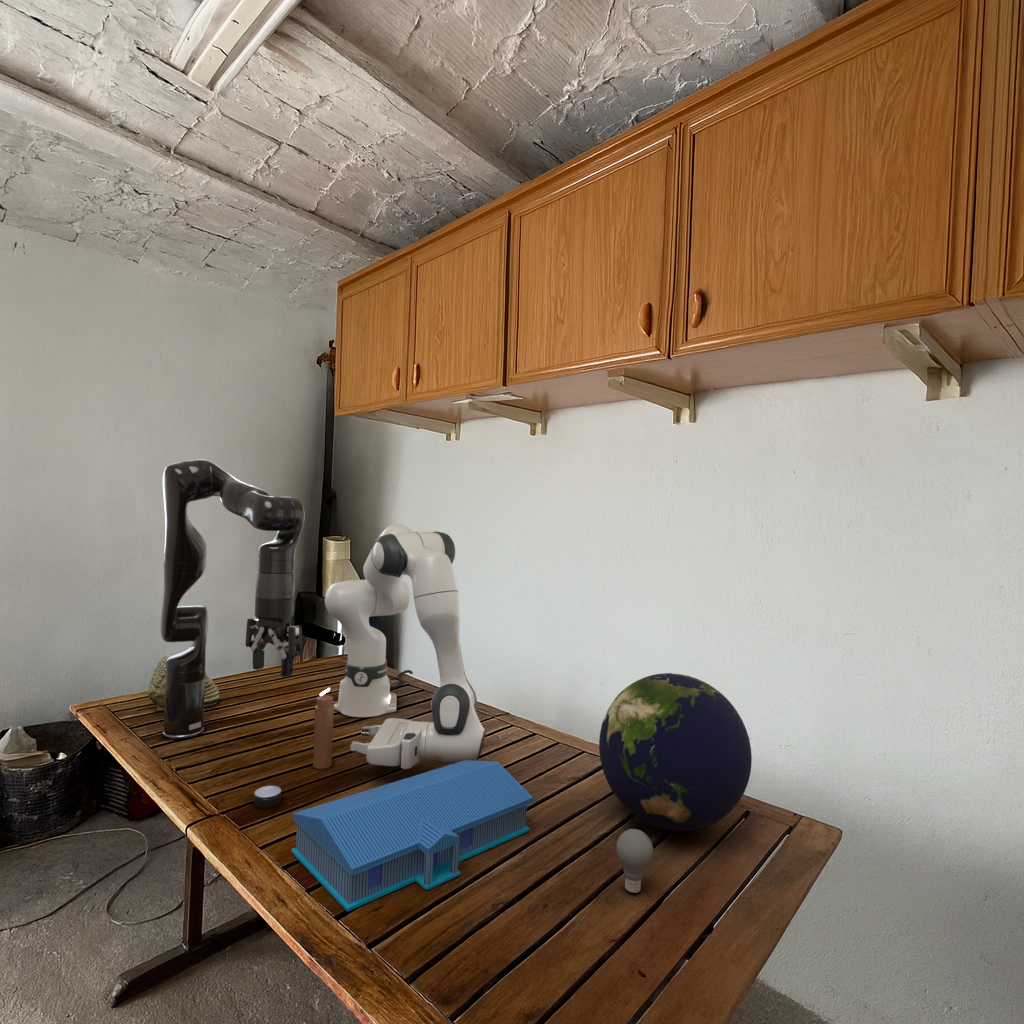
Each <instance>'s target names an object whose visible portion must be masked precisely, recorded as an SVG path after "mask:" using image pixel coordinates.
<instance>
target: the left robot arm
mask: <svg viewBox="0 0 1024 1024" xmlns="http://www.w3.org/2000/svg"><path fill="white" fill-rule="evenodd" d="M162 493H163V505H164V521H165V524H164V525H165V526H164V529H165V530H164V548H163V595H162V607H161V616H160V635H161V639H162V641H164V642H165V643H189V642H192V644H190V646H188V647H186V648H184V649H183V650H181V651H179V652H175V653H174V654H170V655H171V656H169V657H168V658H167V660H166V674H165V705H164V710H163V731H162V737H164V738H166V739H169V740H185V739H190V738H191V739H192V738H194V737H197V736H199V735H202V734H203V732H204V730H205V729H204V722H205V721H204V718H205V706H204V693H205V672H206V656H207V655H206V654H207V653H206V652H207V637H208V636H207V635H208V627H209V611H208V609H207V607H206V606H205V605H199V604H198V605H179V604H180V602H181V600H182V598H183V597H184V596H185V595H186V593H187V592H188V591H189V590H190V589H191V588H192V587H193V586H195V584H196V583H197V582H198V581H199V579H200V578H201V577H202V576H203V575H204V573H205V570H206V567H207V553H208V552H207V551H208V547H207V543H206V541H205V539H204V537H203V535H201V533H200V532H199V531H198V530H197V529H196V528H195V526H194V525H193V524H192V522H191V521H190V519H189V516H188V504H189V503H191V502H196V501H201V500H206V499H210V498H211V497H219V500H220V503H221V505H222V506H223V508H225V510H227V511H228V512H229V513H231V514H233V515H235V516H237V517H240V518H243V519H245V520H246V522H247V523H248V524H249V525H250V526H251V527H253V528H254V529H256V530H259V531H263V532H277V533H276V535H275V537H274V539H273V540H271V541H268V542H265V543H262V544H260V546H259V548H258V552H257V553H258V555H257V575H256V579H255V580H256V581H255V596H254V598H255V599H254V616H255V617H252V618H247V620H246V629H245V630H246V632H245V647H246V648H250V650H251V652H252V664H251V665H252V669H253V670H256V671H258V670H263V669H264V667H265V650H264V649H265V648H266V646H267V645H268V644H271V645H273V646H275V648H276V650H277V651H279V653H280V655H281V657H282V658H281V661H280V662H281V663H280V665H281V667H280V677H282V678H288V677H291V676H292V674H293V672H294V660H295V659H294V658H295V657H298V656H301V655H302V654H303V627H302V625H292V624H291V618H292V617H294V615H295V596H296V595H295V593H296V592H295V590H296V580H295V579H296V578H295V559H296V558H295V556H296V555H295V554H296V550H297V547H298V543H299V541H300V538H301V534H302V532H303V528H304V524H305V519H306V512H305V508H304V505H303V503H302V502H301V501H300V500H299V499H298V498H296V497H293V496H271V495H269V493H268V492H267V491H265V490H264V489H262V488H259V487H256V486H254V485H252V484H248V483H246V482H243V481H241V480H240V479H237V478H236V477H234V476H233V475H231V474H230V473H229V472H227V471H226V470H224V469H223V468H222V467H220V466H219V465H217V464H215V463H214V462H212V461H211V460H208V459H202V458H201V459H193V460H186V461H180V462H175V463H171V464H169V465H167V466H166V467H165V468H164V471H163V475H162ZM252 638H253V639H252Z"/></svg>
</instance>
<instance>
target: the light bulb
mask: <svg viewBox="0 0 1024 1024" xmlns="http://www.w3.org/2000/svg"><path fill="white" fill-rule="evenodd" d="M615 849H616V854H617V857H618V859H619V861H620V863H621V865H622V867H623V873H624V874H623V875H624V876H625V878H624V888H625V890H627V891H628V892H630V893H634V894H635V893H639V892H640V891H641V889H642V887H641V886H642V879H643V877H644V875H645V871H646V868H647V867H648V866H649V864H650V863H651V861H652V859H653V855H654V847H653V843H652V841H651V838H649V836H648V835H647V834H646V833H645V832H643V831H642V830H641V829H636V828H629V829H627V830H625V831H623V832H622V833H621V834H620V835H619V837H618V839H617V841H616V847H615Z"/></svg>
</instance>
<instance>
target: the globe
mask: <svg viewBox="0 0 1024 1024" xmlns="http://www.w3.org/2000/svg"><path fill="white" fill-rule="evenodd" d="M599 731H600V732H599V738H598V739H599V740H598V751H599V759H600V764H601V768H602V771H603V775H604V777H605V780H606V782H607V784H608V786H609V788H610V789H611V791H612V793H613V794H614V795H615V797H616V798H617V800H618V801H619V802H620V803H621V804H622V805H623V806H624V807H625V808H626V809H627V810H628V811H629V812H630V813H631V814H633V815H634V816H635V817H636V818H637V819H640V820H641V821H643V822H645V823H646V824H648V825H651V826H654V827H656V828H659V829H663V830H667V831H673V832H693V831H698V830H701V829H705V828H707V827H710V826H712V825H714V824H716V823H718V822H720V821H721V820H723V819H724V818H725V817H726V816H728V814H730V813H731V811H733V809H734V808H735V807H736V806H737V805H738V804H739V802H740V801H741V799H742V798H743V796H744V794H745V792H746V789H747V787H748V785H749V781H750V778H751V772H752V763H753V762H752V761H753V760H752V759H753V757H752V746H751V741H750V736H749V733H748V730H747V729H746V725H745V723H744V721H743V719H742V717H741V716H740V714H739V712H738V710H737V709H736V708H735V706H734V705H733V704H732V703H731V701H730V700H729V699H728V698H727V697H726V696H725V695H724V694H723V693H722V692H721V691H720V690H718V689H716V688H715V687H714V686H712V685H710V684H709V683H707V682H706V681H703V680H701V679H700V678H696V677H694V676H691V675H687V674H682V673H679V672H678V673H677V672H665V673H655V674H651V675H647V676H645V677H642V678H640V679H638V680H635V681H634V682H632V683H631V684H629V685H628V686H626V687H625V688H624V689H623V690H621V691H620V692H619V693H618V694H617V695H616V697H615V698H614V699H613V701H612V702H611V703H610V705H609V707H608V708H607V710H606V712H605V715H604V716H603V719H602V723H601V727H600V730H599Z"/></svg>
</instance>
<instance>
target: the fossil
mask: <svg viewBox="0 0 1024 1024" xmlns="http://www.w3.org/2000/svg"><path fill="white" fill-rule="evenodd" d="M171 655H172V654H165V655H164V656H163V657H162V658H161V659H160V660H159V662H158V663H157V666H156V667H155V669H154V670H153V672H152V675H151V677H150V680H149V684H148V688H147V697H148V699H149V700H150V701H152V703H153V704H154V706H155V711H158V712H159V711H162V712H163V711H164V705H165V674H166V660H167V658H168V657H169V656H171ZM220 698H221V696H220V690H219V688H218V686H217V685H216V683H215V682H214V681H213V679H212V678H211V677H209V675H208V674H207V672H206V671H205V693H204V707H207V706H213V705H215V704H217V703H218V701H219V699H220Z"/></svg>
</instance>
